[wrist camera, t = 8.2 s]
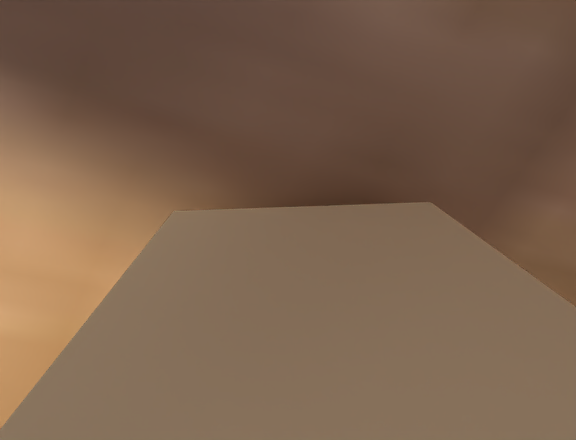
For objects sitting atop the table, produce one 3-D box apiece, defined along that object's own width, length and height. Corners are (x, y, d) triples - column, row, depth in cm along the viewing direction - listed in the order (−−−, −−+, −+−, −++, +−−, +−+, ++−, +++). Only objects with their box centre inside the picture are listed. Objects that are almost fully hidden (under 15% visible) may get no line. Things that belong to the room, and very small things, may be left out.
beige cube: (173, 210, 11) (-130, 593, 3) (430, 202, 11) (880, 526, 3) (200, 410, 14) (88, 918, 5) (408, 399, 14) (613, 868, 6)
